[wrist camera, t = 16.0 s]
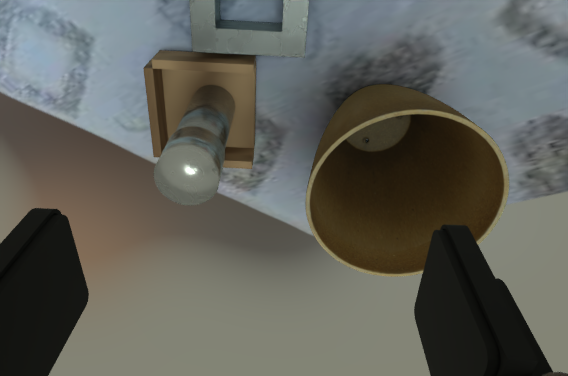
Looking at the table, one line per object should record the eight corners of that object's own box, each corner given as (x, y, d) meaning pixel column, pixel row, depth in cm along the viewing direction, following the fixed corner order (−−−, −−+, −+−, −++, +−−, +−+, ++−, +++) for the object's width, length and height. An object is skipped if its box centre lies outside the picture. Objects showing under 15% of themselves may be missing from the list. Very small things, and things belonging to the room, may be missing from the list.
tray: (256, 52, 44) (253, 65, 40) (254, 149, 49) (251, 168, 46) (154, 46, 43) (142, 59, 40) (164, 145, 49) (154, 164, 45)
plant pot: (396, 13, 42) (448, 64, 28) (469, 128, 48) (542, 217, 34) (271, 108, 47) (264, 190, 33) (353, 201, 53) (375, 304, 39)
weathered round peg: (237, 84, 44) (218, 152, 32) (237, 129, 47) (219, 206, 35) (187, 81, 44) (150, 148, 32) (190, 126, 46) (157, 203, 35)
